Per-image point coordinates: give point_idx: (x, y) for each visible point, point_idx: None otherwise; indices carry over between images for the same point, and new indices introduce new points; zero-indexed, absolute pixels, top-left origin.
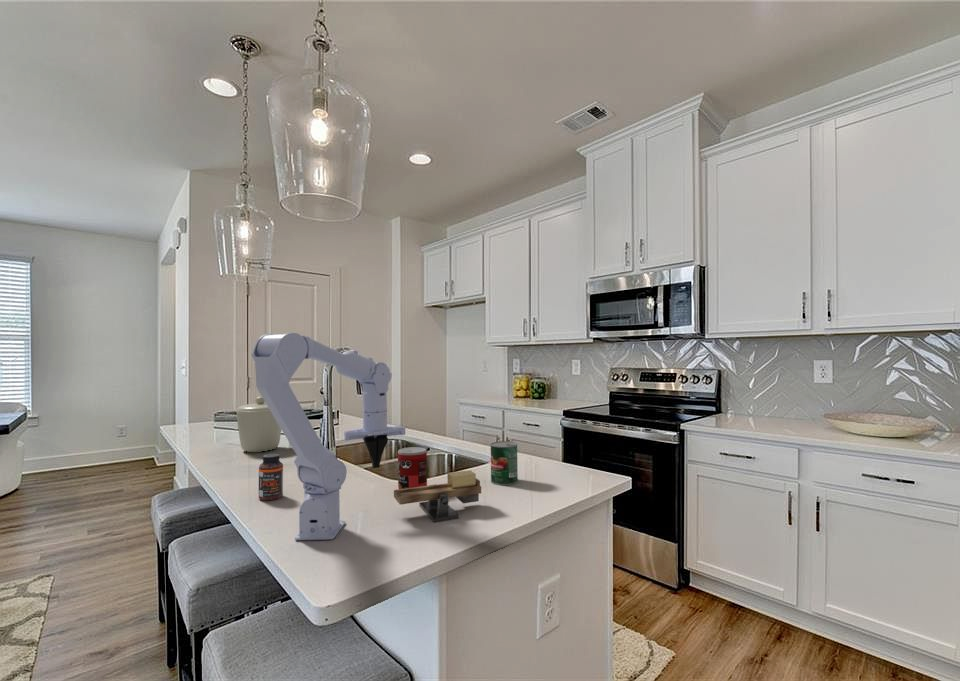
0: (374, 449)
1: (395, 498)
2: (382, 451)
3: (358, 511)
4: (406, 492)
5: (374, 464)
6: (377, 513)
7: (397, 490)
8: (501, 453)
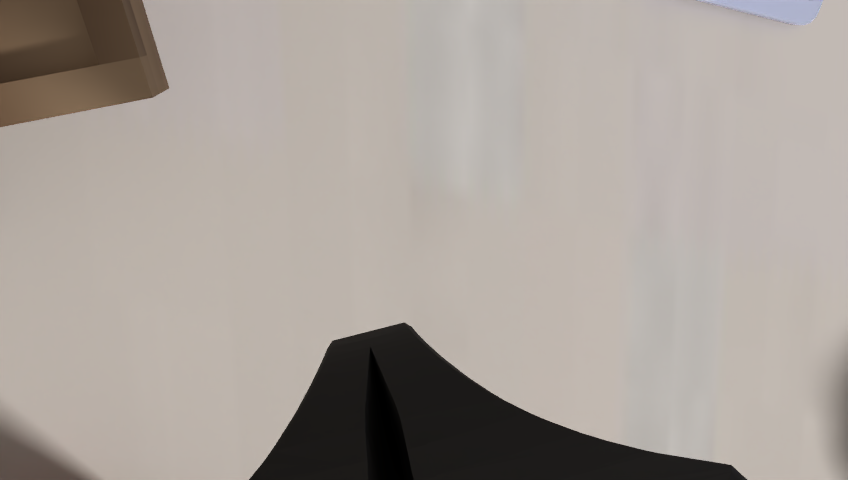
0: (459, 454)
1: (143, 7)
2: (256, 478)
3: (479, 201)
4: (2, 61)
5: (407, 337)
6: (336, 124)
7: (105, 71)
8: None
